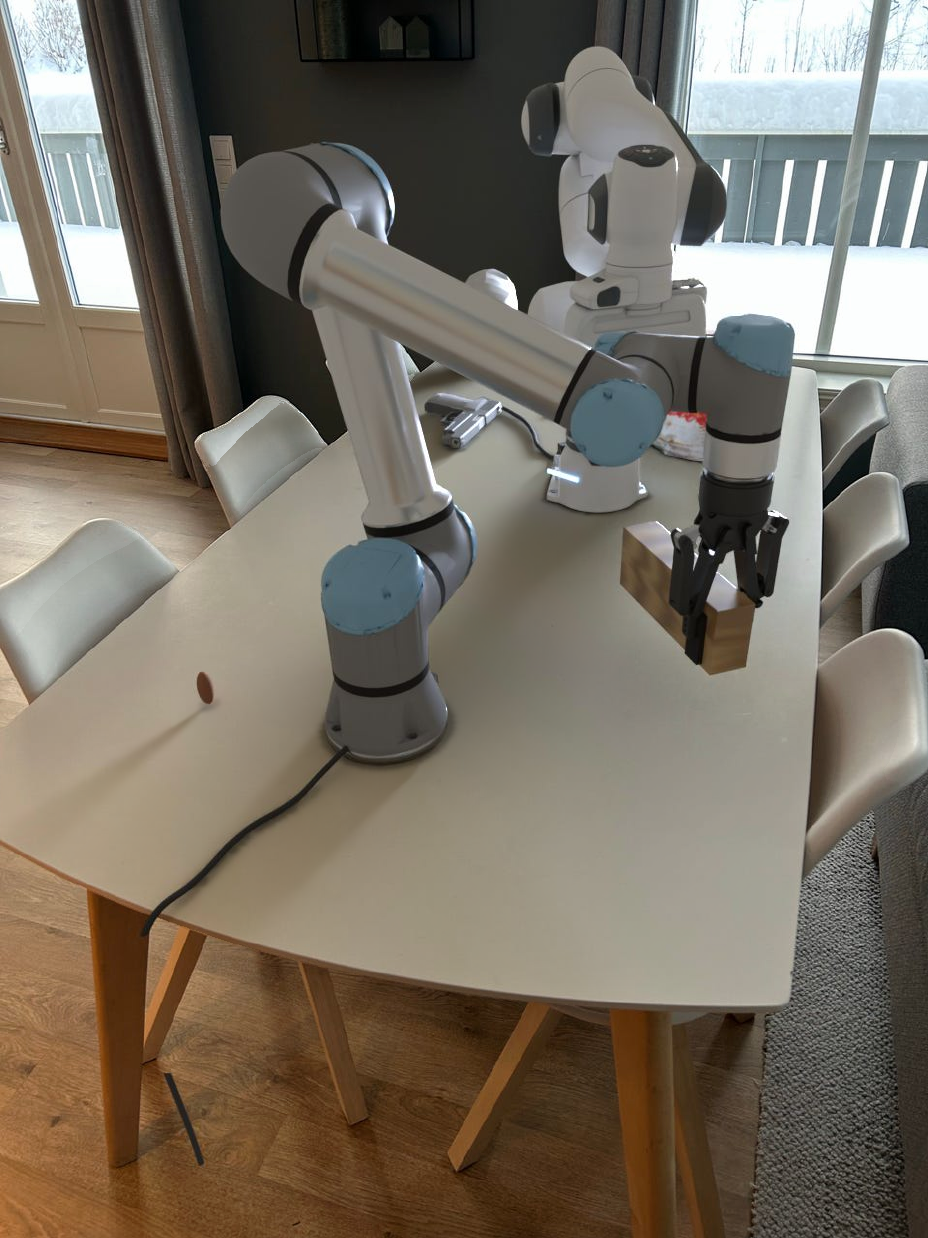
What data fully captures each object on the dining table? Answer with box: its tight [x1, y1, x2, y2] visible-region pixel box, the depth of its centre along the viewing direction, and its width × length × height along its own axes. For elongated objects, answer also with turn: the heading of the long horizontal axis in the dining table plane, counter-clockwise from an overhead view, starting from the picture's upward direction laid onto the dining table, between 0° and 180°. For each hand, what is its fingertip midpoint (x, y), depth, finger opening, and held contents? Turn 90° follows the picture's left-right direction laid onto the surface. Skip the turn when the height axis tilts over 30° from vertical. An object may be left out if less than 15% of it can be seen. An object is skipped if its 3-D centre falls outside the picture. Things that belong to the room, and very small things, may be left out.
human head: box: [464, 268, 518, 310], centre depth 240 cm, size 16×21×25 cm
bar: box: [619, 520, 756, 676], centre depth 112 cm, size 23×5×9 cm, turn 18°
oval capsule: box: [196, 671, 215, 705], centre depth 118 cm, size 2×2×5 cm
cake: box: [651, 411, 707, 462], centre depth 189 cm, size 23×24×10 cm
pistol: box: [423, 392, 503, 449], centre depth 204 cm, size 25×4×18 cm
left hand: (713, 653), depth 107 cm, fingers closed on bar, 5 cm apart
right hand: (632, 386), depth 127 cm, fingers open, 8 cm apart
